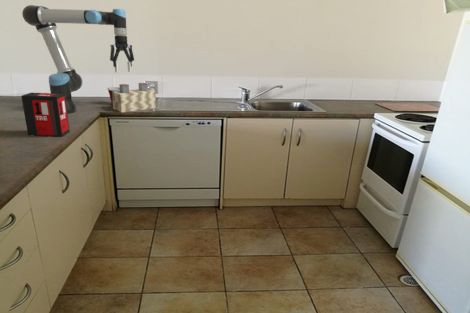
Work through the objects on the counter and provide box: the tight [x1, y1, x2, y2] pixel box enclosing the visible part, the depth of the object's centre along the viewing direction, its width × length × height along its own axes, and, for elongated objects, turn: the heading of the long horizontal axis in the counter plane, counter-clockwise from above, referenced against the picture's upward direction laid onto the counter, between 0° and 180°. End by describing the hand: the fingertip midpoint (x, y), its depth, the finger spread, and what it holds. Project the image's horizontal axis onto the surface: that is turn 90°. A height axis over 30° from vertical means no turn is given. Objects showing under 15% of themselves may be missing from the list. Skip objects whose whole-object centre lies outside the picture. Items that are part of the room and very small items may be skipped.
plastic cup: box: [106, 86, 120, 106], centre depth 240 cm, size 11×11×12 cm
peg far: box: [138, 82, 149, 91], centre depth 234 cm, size 4×4×9 cm
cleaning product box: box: [20, 92, 71, 138], centre depth 167 cm, size 16×9×20 cm, turn 92°
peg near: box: [118, 83, 130, 93], centre depth 225 cm, size 4×4×9 cm
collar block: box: [112, 88, 157, 113], centre depth 231 cm, size 26×12×12 cm, turn 134°
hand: (123, 71), depth 220 cm, fingers open, 8 cm apart
